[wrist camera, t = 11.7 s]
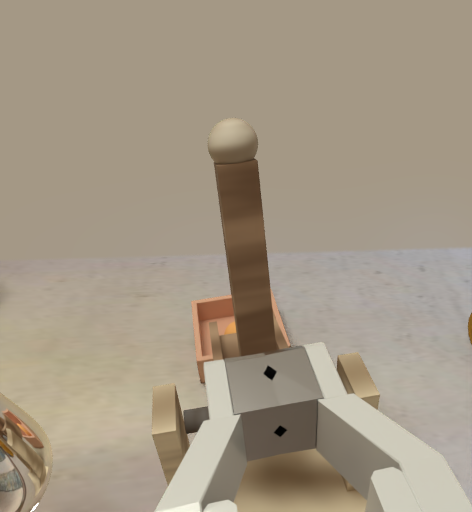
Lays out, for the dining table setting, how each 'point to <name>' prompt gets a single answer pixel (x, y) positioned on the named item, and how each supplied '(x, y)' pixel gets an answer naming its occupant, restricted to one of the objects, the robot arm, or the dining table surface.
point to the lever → (241, 251)
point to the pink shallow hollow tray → (224, 315)
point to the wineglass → (22, 459)
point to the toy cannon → (470, 327)
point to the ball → (230, 328)
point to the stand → (273, 457)
